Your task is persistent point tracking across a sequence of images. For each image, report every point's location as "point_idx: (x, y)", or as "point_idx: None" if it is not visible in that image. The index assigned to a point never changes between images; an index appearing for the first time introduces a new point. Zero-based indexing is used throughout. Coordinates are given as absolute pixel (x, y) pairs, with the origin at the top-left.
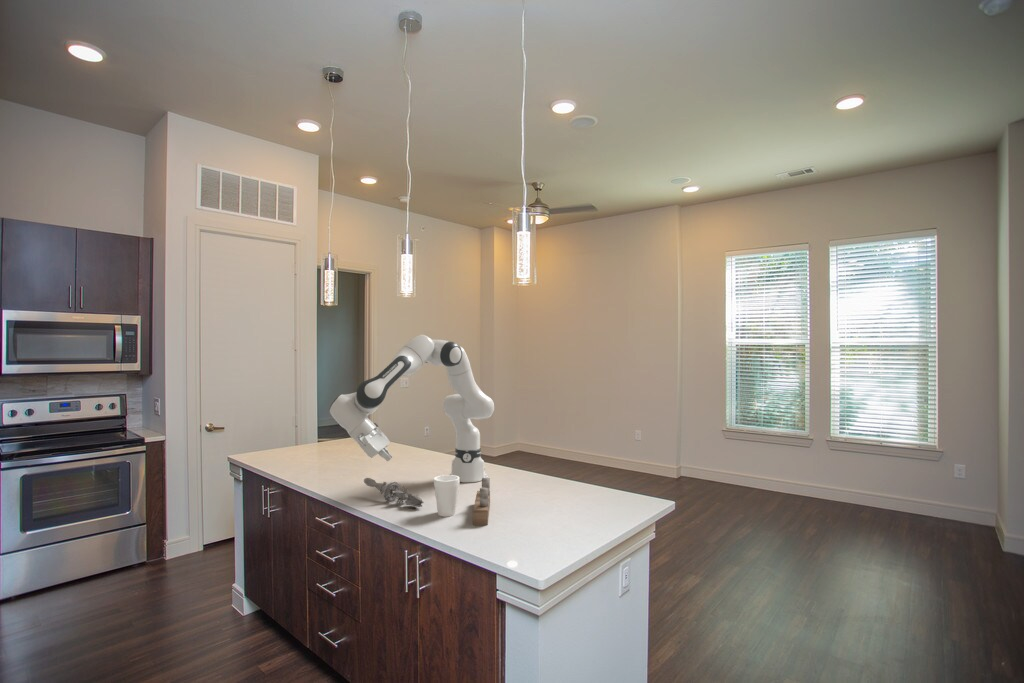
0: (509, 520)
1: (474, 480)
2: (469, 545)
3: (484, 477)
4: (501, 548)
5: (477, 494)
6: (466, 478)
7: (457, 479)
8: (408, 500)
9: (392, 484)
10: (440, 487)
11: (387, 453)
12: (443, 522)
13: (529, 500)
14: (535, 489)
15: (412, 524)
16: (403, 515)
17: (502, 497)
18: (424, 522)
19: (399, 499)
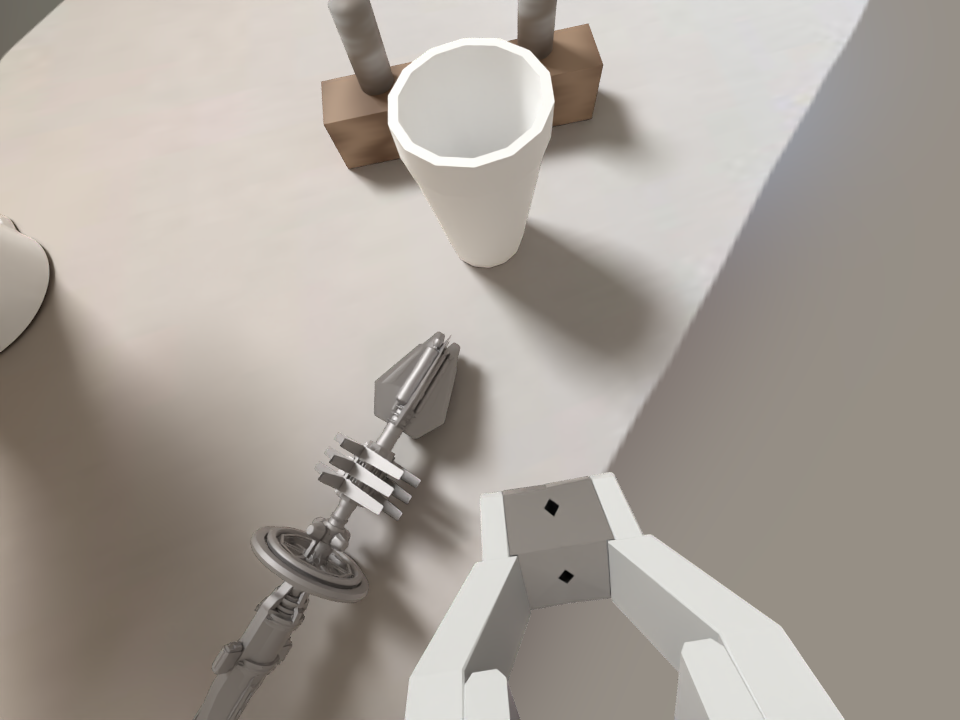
0: (517, 38)
1: (36, 251)
2: (780, 78)
3: (1, 220)
4: (765, 2)
5: (381, 108)
6: (22, 277)
7: (492, 38)
8: (414, 419)
9: (299, 563)
10: (549, 139)
11: (506, 604)
12: (590, 215)
13: (302, 33)
14: (174, 42)
15: (647, 319)
16: (544, 401)
17: (268, 111)
18: (610, 281)
19: (403, 475)
